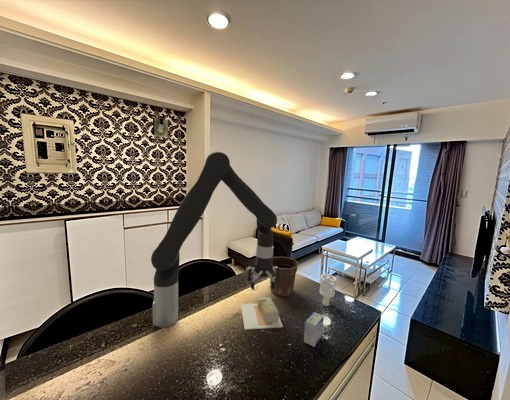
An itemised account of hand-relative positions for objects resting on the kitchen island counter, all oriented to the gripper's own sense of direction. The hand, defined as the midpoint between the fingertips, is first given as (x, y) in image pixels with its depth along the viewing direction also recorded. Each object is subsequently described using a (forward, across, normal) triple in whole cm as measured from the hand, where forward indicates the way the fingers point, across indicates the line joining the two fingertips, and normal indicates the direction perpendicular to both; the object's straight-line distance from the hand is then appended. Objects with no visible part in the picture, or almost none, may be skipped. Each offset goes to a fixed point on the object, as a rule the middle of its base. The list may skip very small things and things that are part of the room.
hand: (262, 288), depth 103 cm
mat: (+11, -1, -3) cm, 11 cm away
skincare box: (+8, +2, +4) cm, 9 cm away
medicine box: (+11, +17, -19) cm, 28 cm away
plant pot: (+11, +14, +17) cm, 25 cm away
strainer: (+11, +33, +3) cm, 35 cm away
